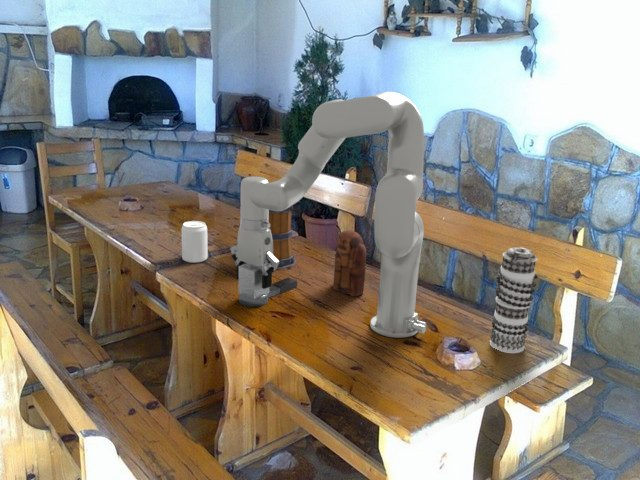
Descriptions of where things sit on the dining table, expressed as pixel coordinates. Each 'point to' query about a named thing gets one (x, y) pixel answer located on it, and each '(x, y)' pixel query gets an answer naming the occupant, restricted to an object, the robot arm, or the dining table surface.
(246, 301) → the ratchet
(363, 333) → the dining table surface
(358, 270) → the wooden figurine
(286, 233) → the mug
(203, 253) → the beverage can
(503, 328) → the decorative candle
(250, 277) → the brushed metal cube
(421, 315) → the dining table surface
